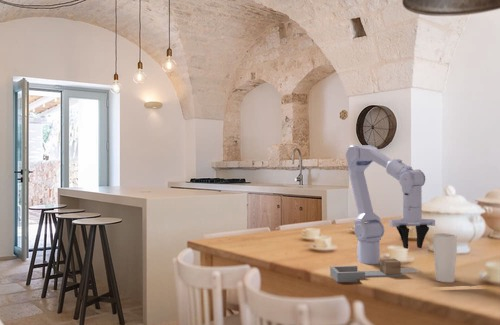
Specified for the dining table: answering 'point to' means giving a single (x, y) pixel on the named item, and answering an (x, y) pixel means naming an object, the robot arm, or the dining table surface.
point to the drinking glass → (445, 256)
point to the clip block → (390, 266)
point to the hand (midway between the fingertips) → (412, 247)
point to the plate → (409, 270)
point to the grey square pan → (354, 274)
